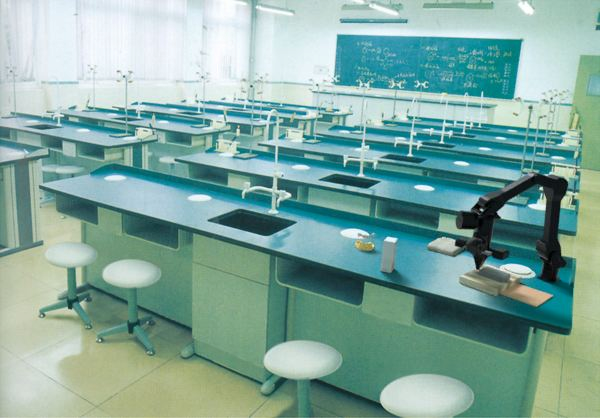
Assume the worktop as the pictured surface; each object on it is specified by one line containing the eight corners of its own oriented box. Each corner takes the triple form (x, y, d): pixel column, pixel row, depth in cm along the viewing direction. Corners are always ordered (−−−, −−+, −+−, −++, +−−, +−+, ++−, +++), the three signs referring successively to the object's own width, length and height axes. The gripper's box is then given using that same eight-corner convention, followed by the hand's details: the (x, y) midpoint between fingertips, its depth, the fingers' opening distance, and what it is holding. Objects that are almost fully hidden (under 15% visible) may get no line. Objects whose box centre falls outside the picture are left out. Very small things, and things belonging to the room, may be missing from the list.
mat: (517, 284, 181) (517, 283, 181) (552, 296, 173) (553, 295, 173) (499, 293, 172) (500, 292, 172) (536, 307, 163) (536, 306, 163)
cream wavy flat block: (485, 270, 193) (486, 264, 192) (520, 282, 183) (522, 276, 183) (458, 282, 180) (459, 276, 179) (495, 296, 170) (497, 289, 169)
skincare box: (391, 273, 184) (394, 242, 181) (379, 271, 185) (383, 240, 182) (394, 268, 189) (398, 238, 186) (383, 265, 191) (386, 236, 188)
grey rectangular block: (486, 271, 185) (486, 266, 185) (509, 279, 179) (510, 274, 178) (478, 274, 181) (479, 269, 181) (502, 283, 175) (503, 277, 174)
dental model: (373, 246, 213) (375, 231, 211) (374, 251, 206) (376, 236, 204) (355, 244, 214) (356, 229, 212) (355, 249, 207) (356, 234, 205)
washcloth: (468, 247, 220) (469, 241, 219) (452, 257, 206) (453, 250, 205) (442, 241, 227) (443, 234, 226) (425, 250, 213) (426, 243, 212)
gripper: (449, 226, 181) (444, 266, 185) (499, 240, 168) (491, 283, 173) (465, 222, 189) (459, 260, 193) (513, 235, 176) (506, 276, 180)
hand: (477, 269), depth 184 cm, fingers closed
